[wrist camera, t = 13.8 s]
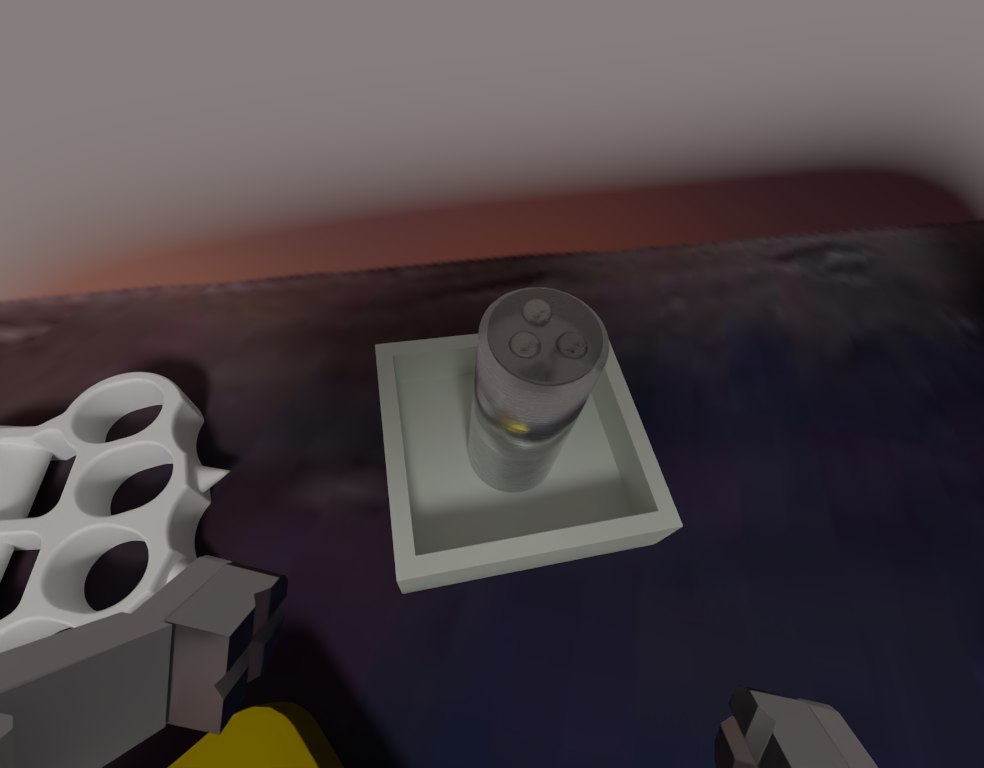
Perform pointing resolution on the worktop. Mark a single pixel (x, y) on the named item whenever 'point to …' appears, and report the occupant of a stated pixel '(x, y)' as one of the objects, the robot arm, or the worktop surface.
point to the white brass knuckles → (99, 500)
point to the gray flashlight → (531, 383)
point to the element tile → (264, 741)
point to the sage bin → (496, 514)
